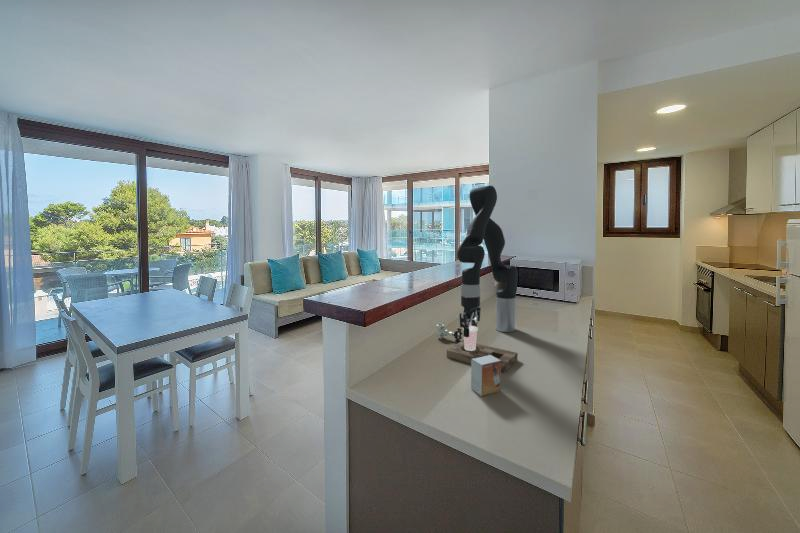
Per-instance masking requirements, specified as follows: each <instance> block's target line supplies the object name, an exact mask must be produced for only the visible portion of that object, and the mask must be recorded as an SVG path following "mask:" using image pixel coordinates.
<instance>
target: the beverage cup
mask: <svg viewBox="0 0 800 533" xmlns="http://www.w3.org/2000/svg"><path fill="white" fill-rule="evenodd" d="M471 324H472V323H470V326H469V337H464V336H463V340H464V349H465V350H468V351H474V350H476V343H477V336H478V331H479V327H478V326H477V327H476V326H471ZM462 331H463V332H462V333H464V328H463V327H462Z"/></svg>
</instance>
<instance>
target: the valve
mask: <svg viewBox="0 0 800 533" xmlns="http://www.w3.org/2000/svg"><path fill="white" fill-rule="evenodd" d="M462 331H463V328H461V327H457V328H456V330H455V332H453V331H450V330H449V329H445V325H444V324H443V323H438V324H436V329H435V333H436V339H437V338H440V339H439V340H443V339H442V338H444V339H445V337H448V336H451V337H454V339H455V340H454V341H455V343H459V342H461V340H462V335H463V332H462Z"/></svg>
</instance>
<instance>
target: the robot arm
mask: <svg viewBox="0 0 800 533" xmlns="http://www.w3.org/2000/svg"><path fill="white" fill-rule="evenodd" d="M497 193H498V192H497V190H496V188H495V187H494V186H493V185H484V186H480V187H476V188H473V189H471V190H470V191H469V195H468V196H469V201H470V202H469V203H470V205H471V208H472V210H473V212H474V215H475V216H474V217H473V218H472V220H471V221H470V223H469V225H468V228H467V232H466V235H465V237H464V239H463V241H462V242H461V244H460V245H459V247H458V249H457V253H456V257H457V260H458V261H459V262H460V263H464V264H473V266H472V267H470V268H469V267H468V268H465V269H464V268H463V270H462V271H461V288H460V301H461V302H460V305H461V307H463V309H464V310H463V312H462V313H461V312H460V313H459V328H462V329H463V328H464V332H463V338H464V337H469V326H470V323H471V326H476V327H477V328H478V323H479V322H480V320H481V309H482V308H481V286H480V282H481V281H480V279H481V276H480V274H481V268H482V265H483V262H484V259H485V255H486V252H485V249H484V247H483V246H482V244H483V242H484V245H485V248H486V251H487V255H488V258H489V262H490V267H491V272H492V276H493V279H494V281H496V283H500V284H505V288H502V289H498V290H497V291H496V298H495V300H496V301H495V302H496V303H495V304H496V307H495V309H496V310H495V312H496V313H495V330H496V331H498V332H501V333H513V332H515V331H516V305H517V304H516V302H517V301H516V300H517V299H516V297H517V291H518V281H519V278H518V277H519V271H518V270H519V269H518V268H517V267H516V266H515V265H509V264H503V263H502V259H501V255H502V252H503V250H504V248H505V244H506V240H505V235H504V233H503V232H504V231H503V229H502V227H501V226H500V225H499V224H498V223H496V222H495V221H494V220H493V219H492V218H491V216H492V213H493V212H494V209H495V207H496V204H497V200H498V194H497Z"/></svg>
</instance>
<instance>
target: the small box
mask: <svg viewBox="0 0 800 533" xmlns="http://www.w3.org/2000/svg"><path fill="white" fill-rule="evenodd" d="M470 366H471V367H470V369H471V371H470V374H471V375H470V379H471V380H470V389H471V390H472V391H473V392H475V393H477V395H479V396H480V397H484V396H486V395H487V396H488V395H490V394H495V393H500V392H501V388H502V387H501V386H502V383H501V382H502V373H501V360H499V359H497V358H495V357H494V356H492V355H488V356H484V357H479V358H474V359H471V364H470Z"/></svg>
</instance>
